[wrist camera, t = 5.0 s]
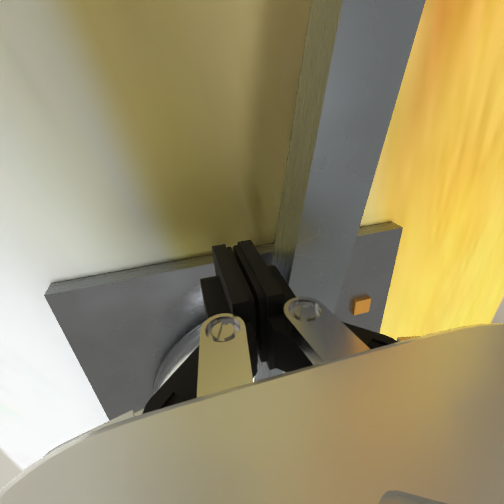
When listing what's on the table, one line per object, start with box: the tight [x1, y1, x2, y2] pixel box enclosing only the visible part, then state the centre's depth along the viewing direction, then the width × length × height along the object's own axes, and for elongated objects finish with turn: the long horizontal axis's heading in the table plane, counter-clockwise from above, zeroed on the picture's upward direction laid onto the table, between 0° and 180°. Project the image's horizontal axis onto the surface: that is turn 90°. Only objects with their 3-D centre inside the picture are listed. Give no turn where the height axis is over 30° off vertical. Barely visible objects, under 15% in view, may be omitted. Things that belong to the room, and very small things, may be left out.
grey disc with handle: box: [153, 0, 425, 395], centre depth 15 cm, size 29×14×4 cm, turn 174°
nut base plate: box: [44, 222, 403, 420], centre depth 21 cm, size 20×20×1 cm
